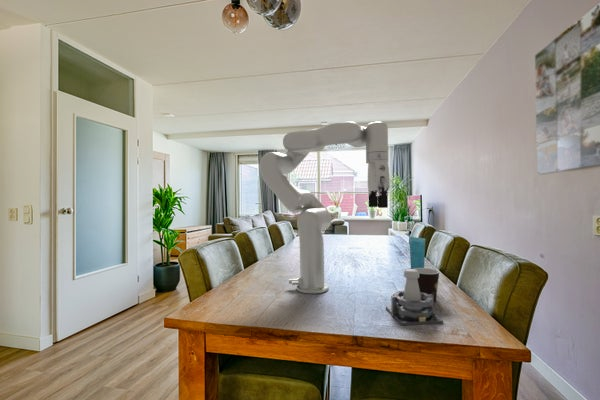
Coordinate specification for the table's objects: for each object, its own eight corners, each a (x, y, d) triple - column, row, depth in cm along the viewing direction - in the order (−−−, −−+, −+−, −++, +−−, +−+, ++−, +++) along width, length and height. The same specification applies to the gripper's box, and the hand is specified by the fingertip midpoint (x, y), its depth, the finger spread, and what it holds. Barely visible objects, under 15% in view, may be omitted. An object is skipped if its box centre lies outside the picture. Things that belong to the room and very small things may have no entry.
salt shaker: (416, 308, 90) (416, 267, 90) (426, 316, 84) (426, 271, 84) (398, 309, 89) (398, 267, 89) (407, 317, 83) (406, 272, 83)
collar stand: (400, 325, 80) (400, 304, 80) (385, 308, 92) (384, 290, 92) (444, 323, 81) (444, 302, 81) (423, 307, 93) (422, 288, 93)
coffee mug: (428, 306, 94) (427, 275, 94) (407, 298, 101) (406, 269, 101) (450, 299, 99) (450, 270, 99) (429, 292, 107) (429, 265, 107)
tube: (429, 285, 115) (428, 237, 115) (423, 288, 112) (422, 239, 112) (412, 281, 121) (411, 236, 121) (405, 283, 118) (405, 237, 118)
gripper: (397, 154, 92) (398, 207, 92) (378, 161, 109) (379, 206, 110) (374, 154, 92) (375, 208, 92) (359, 161, 109) (360, 206, 109)
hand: (377, 207), depth 101 cm, fingers open, 9 cm apart
